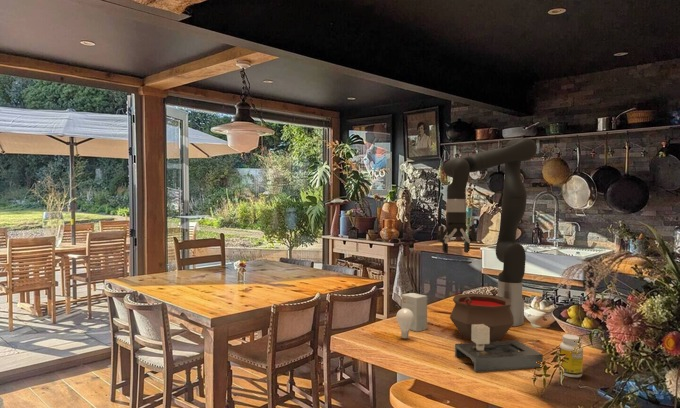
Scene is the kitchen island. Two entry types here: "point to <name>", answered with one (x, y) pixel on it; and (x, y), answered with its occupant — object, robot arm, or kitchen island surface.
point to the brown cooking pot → (482, 314)
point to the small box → (416, 310)
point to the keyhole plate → (500, 356)
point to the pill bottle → (571, 356)
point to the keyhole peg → (480, 336)
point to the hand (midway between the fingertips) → (455, 252)
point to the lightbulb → (405, 321)
